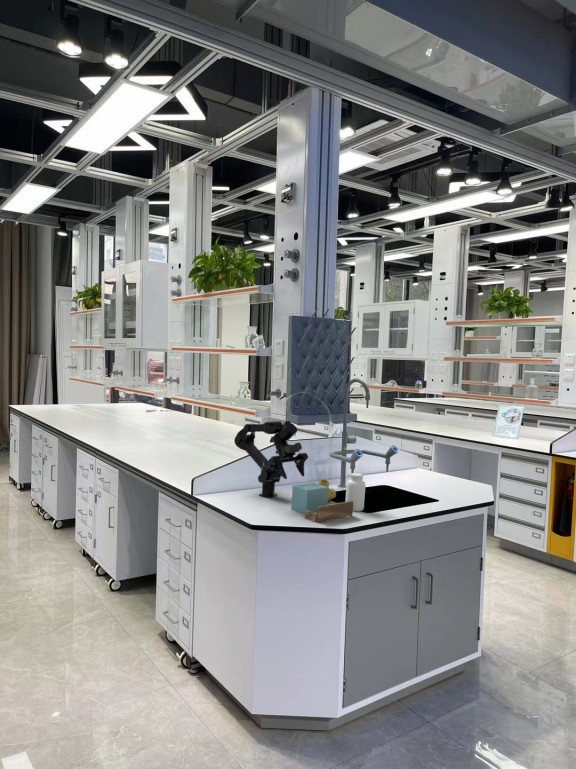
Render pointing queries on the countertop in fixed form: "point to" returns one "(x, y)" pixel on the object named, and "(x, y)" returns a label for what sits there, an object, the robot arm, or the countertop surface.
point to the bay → (330, 512)
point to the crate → (309, 497)
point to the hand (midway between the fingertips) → (294, 477)
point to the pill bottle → (356, 491)
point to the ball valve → (330, 490)
